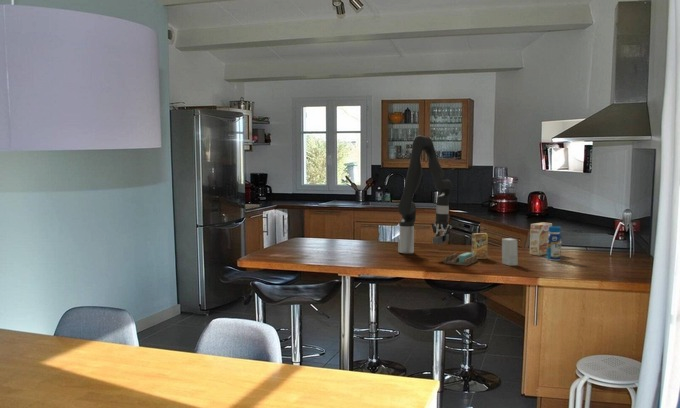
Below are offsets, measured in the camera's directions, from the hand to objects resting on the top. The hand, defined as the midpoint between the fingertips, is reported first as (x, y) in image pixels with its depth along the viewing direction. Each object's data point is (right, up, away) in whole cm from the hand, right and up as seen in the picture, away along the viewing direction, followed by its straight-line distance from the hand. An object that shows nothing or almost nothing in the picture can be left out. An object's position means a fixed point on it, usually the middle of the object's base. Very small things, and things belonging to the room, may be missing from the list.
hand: (440, 240), depth 357 cm
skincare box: (+37, -13, -17) cm, 42 cm away
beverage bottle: (+68, -11, -1) cm, 69 cm away
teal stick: (+12, -11, -12) cm, 20 cm away
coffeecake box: (+67, -10, +20) cm, 70 cm away
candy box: (+24, -11, +2) cm, 26 cm away
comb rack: (+10, -12, -11) cm, 19 cm away
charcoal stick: (0, -1, 0) cm, 1 cm away
